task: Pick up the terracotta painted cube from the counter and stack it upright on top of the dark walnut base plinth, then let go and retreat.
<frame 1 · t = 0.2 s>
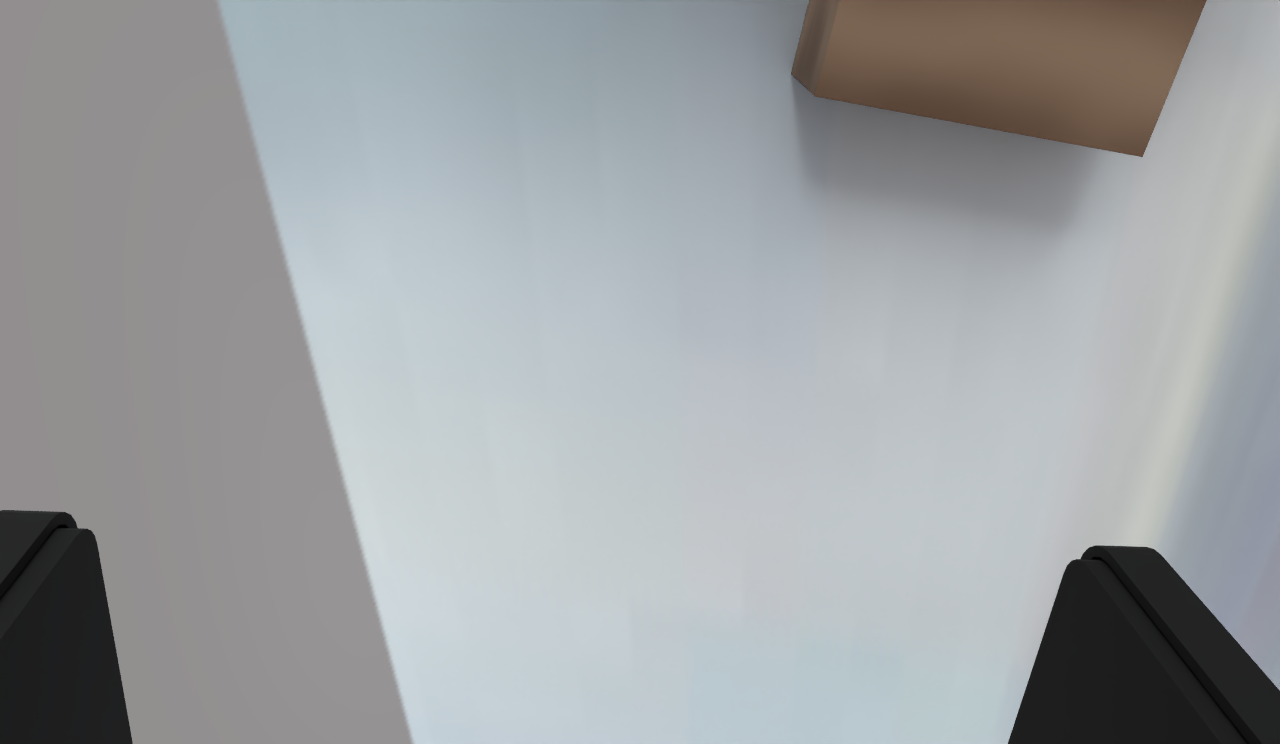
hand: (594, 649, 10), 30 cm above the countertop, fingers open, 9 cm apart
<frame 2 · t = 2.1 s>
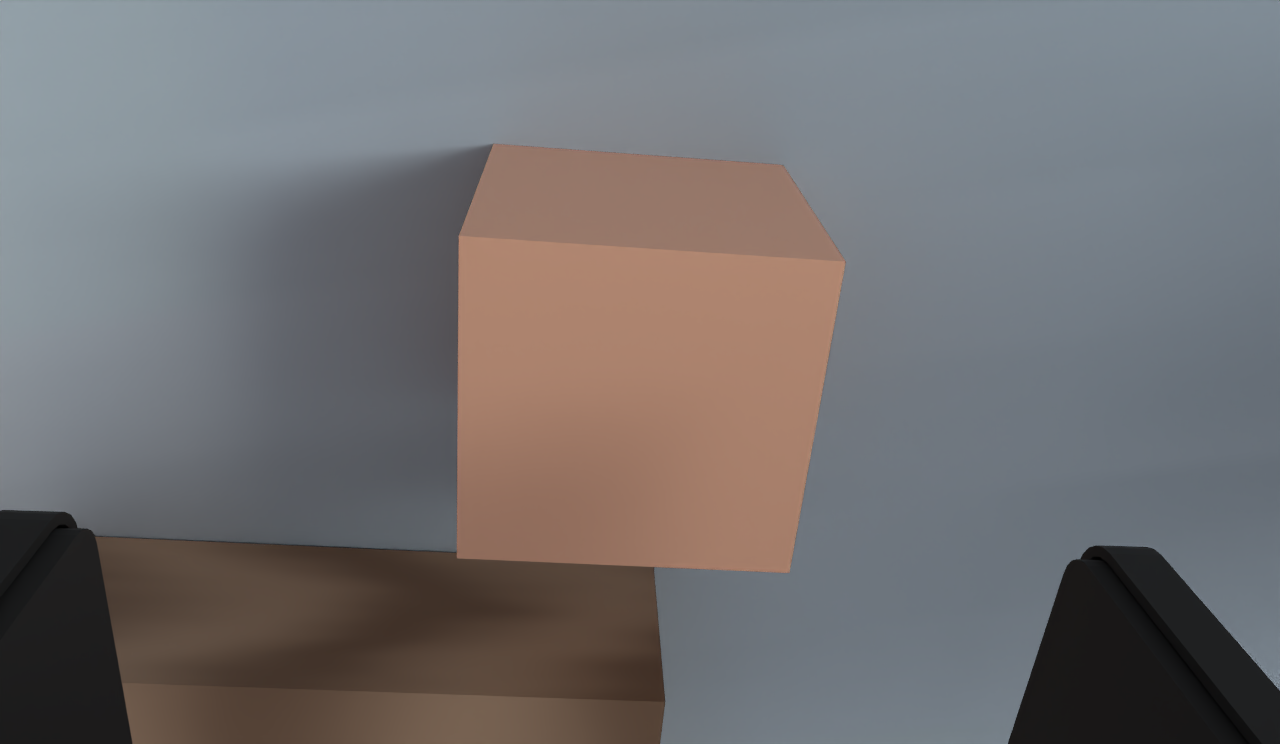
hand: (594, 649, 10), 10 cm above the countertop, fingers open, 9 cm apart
terracotta cube: (628, 288, 19), on the countertop
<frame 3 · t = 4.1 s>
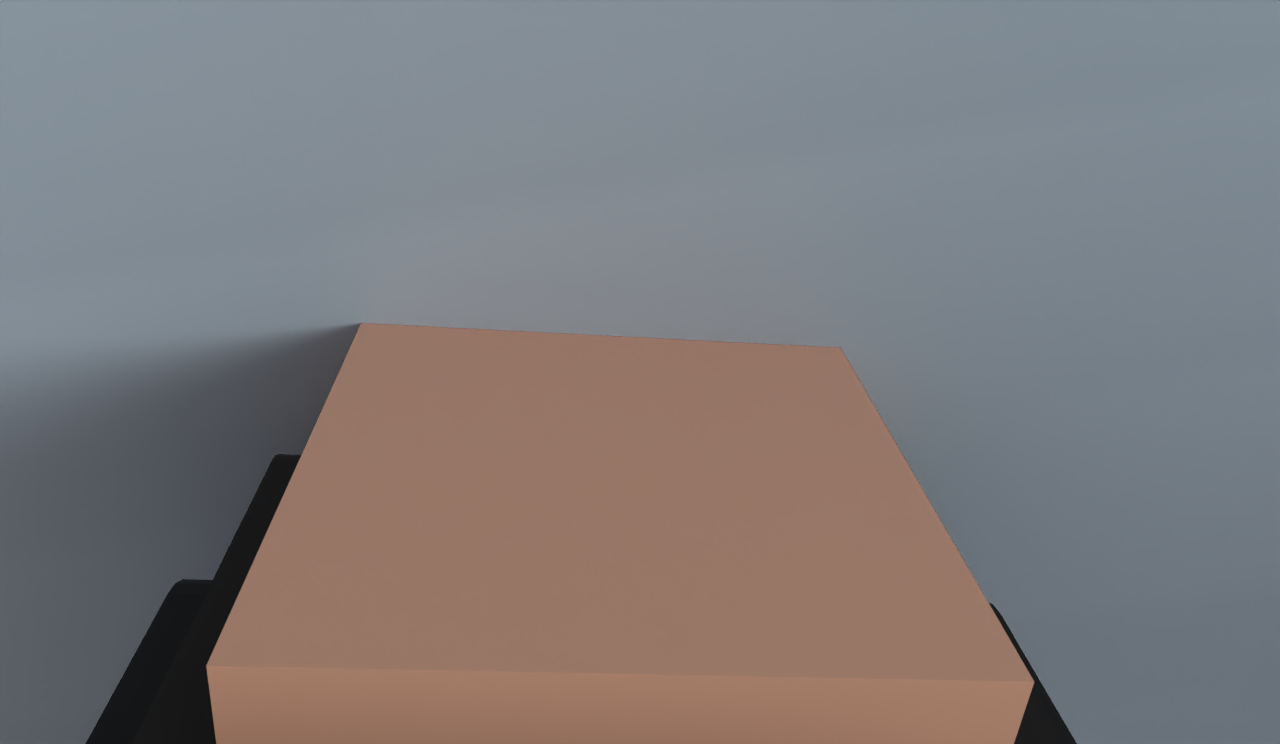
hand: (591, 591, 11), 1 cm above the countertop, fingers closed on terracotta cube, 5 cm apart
terracotta cube: (590, 534, 12), on the countertop, touching gripper
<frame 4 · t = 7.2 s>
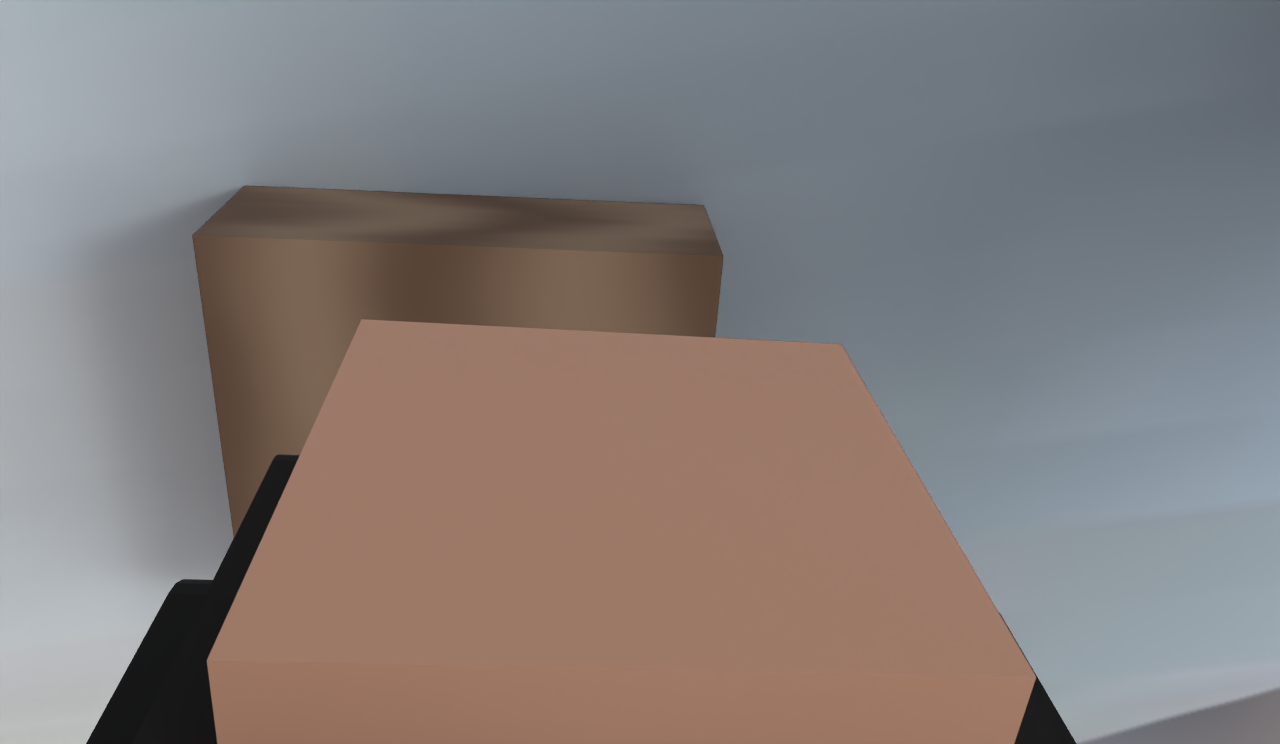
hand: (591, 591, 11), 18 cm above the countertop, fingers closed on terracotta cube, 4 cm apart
terracotta cube: (591, 531, 12), point 17 cm above the countertop, touching gripper
walnut base: (479, 397, 29), on the countertop
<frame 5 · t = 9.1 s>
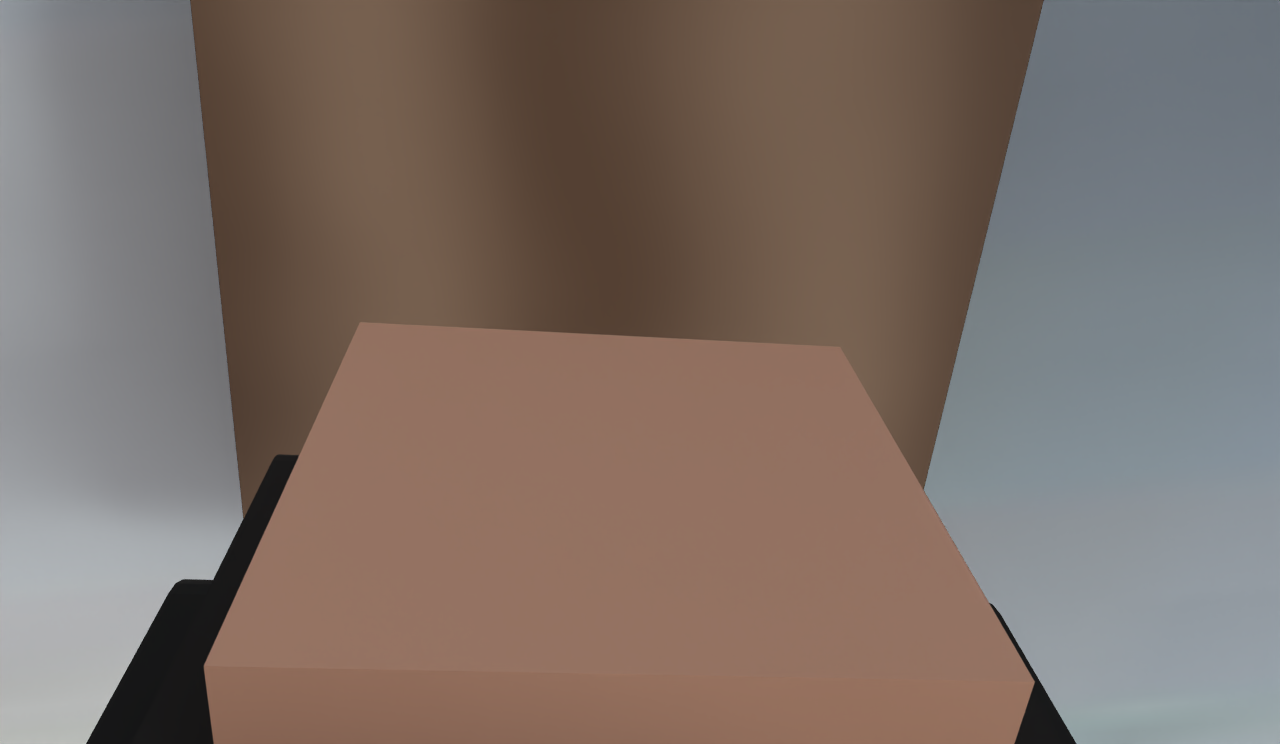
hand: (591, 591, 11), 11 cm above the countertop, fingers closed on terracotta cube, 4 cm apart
terracotta cube: (590, 533, 12), point 10 cm above the countertop, touching gripper
walnut base: (596, 250, 20), on the countertop
when the fingers open (6 cm above the countertop, at t = 10.7 s): terracotta cube drops 1 cm, resting on walnut base.
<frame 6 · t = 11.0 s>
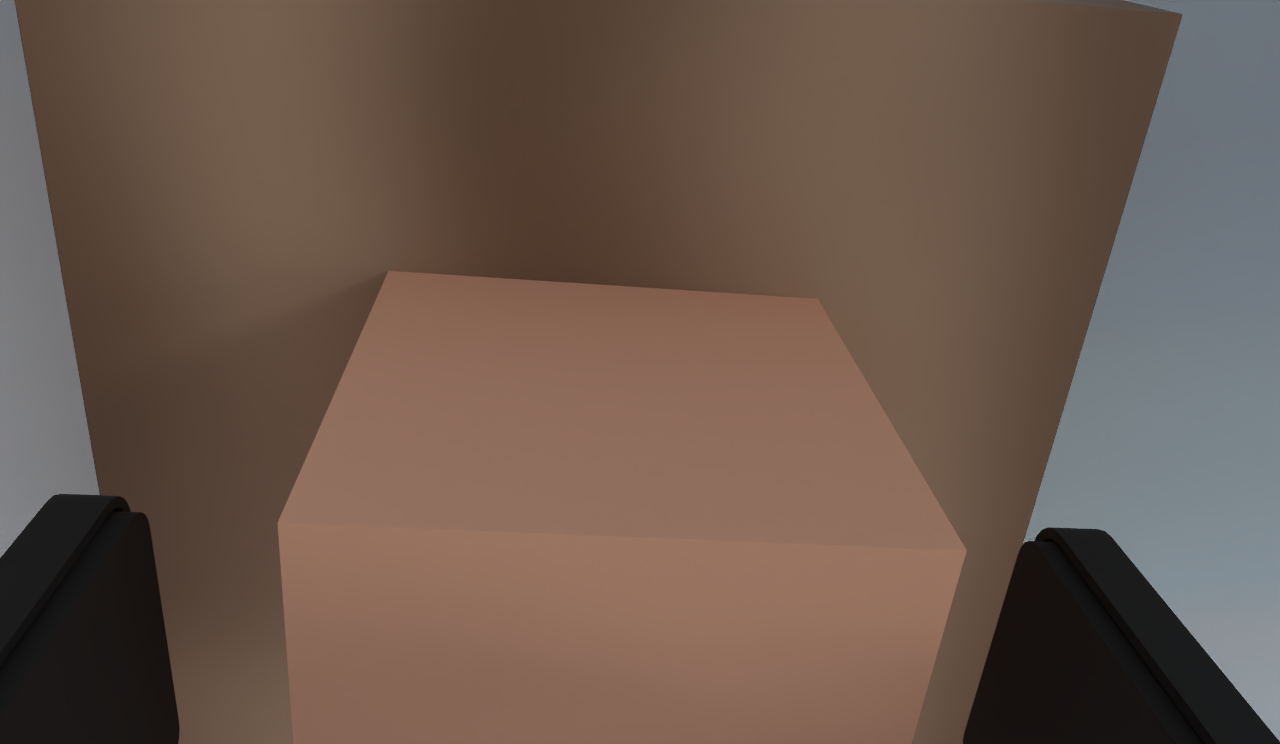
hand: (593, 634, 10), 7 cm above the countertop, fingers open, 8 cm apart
terracotta cube: (591, 469, 13), point 4 cm above the countertop, touching walnut base
walnut base: (582, 341, 17), on the countertop
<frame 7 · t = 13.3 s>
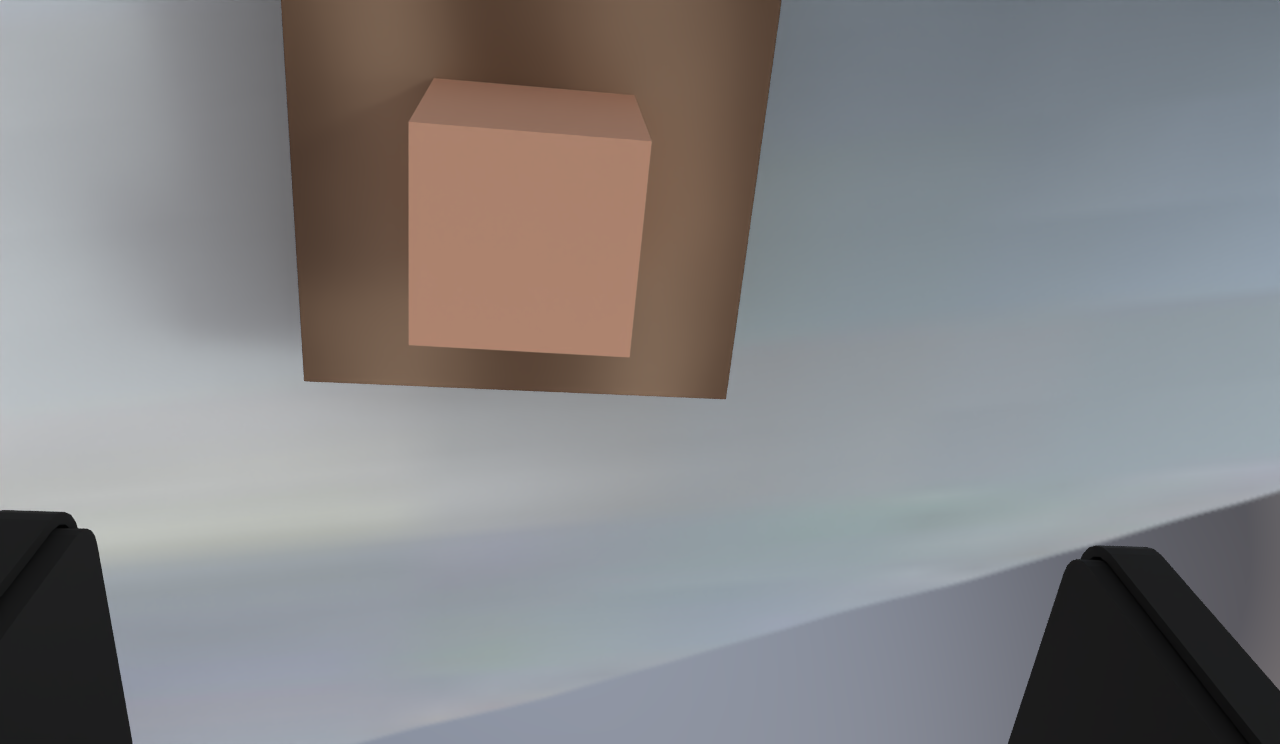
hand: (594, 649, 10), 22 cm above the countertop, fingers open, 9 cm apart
terracotta cube: (530, 184, 27), point 4 cm above the countertop, touching walnut base
walnut base: (530, 148, 30), on the countertop
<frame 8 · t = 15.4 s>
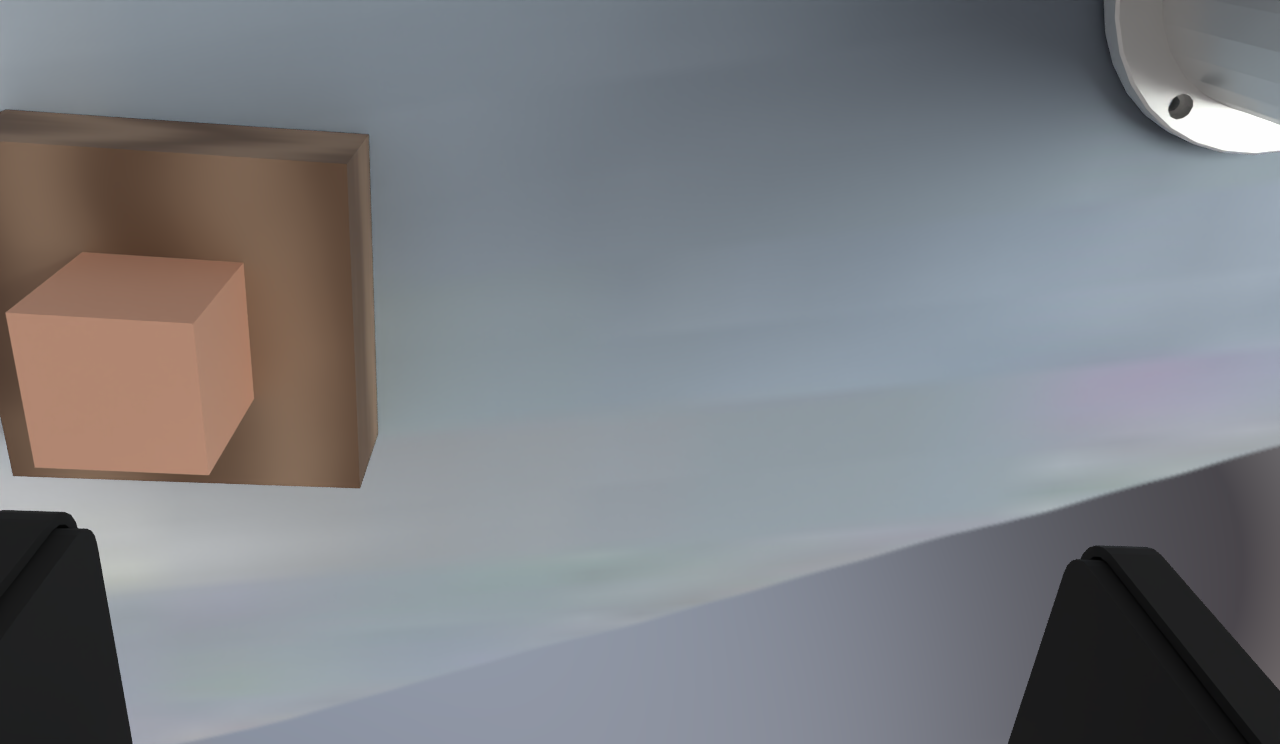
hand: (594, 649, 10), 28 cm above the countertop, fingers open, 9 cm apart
terracotta cube: (171, 328, 34), point 4 cm above the countertop, touching walnut base
walnut base: (207, 285, 38), on the countertop
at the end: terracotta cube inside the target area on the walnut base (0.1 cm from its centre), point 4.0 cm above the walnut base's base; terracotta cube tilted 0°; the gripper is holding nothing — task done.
